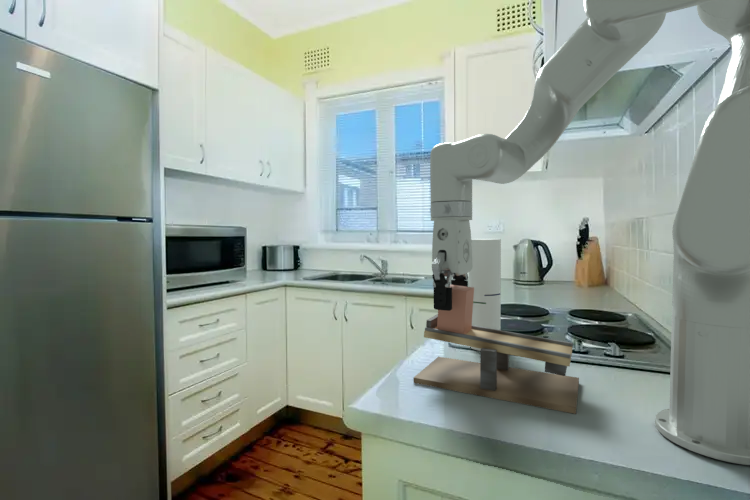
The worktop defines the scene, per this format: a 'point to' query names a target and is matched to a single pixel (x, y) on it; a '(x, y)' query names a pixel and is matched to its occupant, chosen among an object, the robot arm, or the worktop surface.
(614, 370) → the worktop surface
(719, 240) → the robot arm
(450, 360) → the stand
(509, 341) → the beam
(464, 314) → the block
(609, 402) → the worktop surface
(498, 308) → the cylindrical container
